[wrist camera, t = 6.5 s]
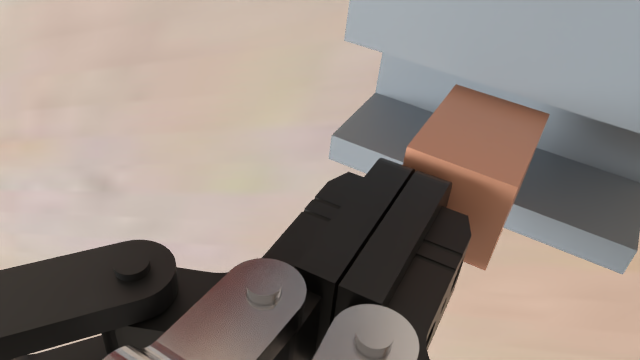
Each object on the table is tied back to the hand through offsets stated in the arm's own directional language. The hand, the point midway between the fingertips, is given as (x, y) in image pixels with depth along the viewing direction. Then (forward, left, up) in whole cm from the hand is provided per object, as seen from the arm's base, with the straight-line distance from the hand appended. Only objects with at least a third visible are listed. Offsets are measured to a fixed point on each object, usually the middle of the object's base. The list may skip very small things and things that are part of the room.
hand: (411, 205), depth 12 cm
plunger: (-1, 0, -3) cm, 3 cm away
